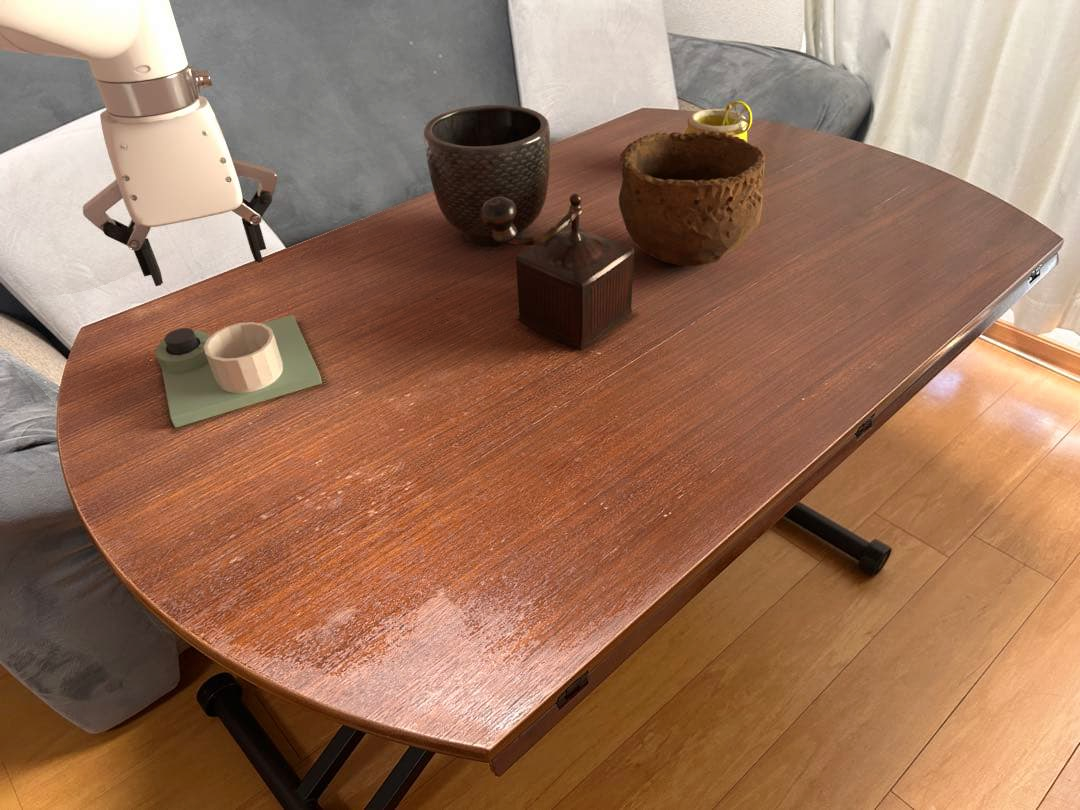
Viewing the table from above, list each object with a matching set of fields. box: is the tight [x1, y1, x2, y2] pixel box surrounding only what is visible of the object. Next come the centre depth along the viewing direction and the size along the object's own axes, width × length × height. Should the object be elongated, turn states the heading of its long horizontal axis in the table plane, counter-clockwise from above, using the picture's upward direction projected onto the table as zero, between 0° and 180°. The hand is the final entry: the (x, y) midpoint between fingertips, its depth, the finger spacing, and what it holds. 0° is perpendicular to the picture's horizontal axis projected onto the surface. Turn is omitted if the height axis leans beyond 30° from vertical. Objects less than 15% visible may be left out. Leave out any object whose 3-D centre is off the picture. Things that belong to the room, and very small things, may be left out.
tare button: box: [164, 327, 198, 355], centre depth 87 cm, size 3×3×2 cm
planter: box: [423, 104, 551, 247], centre depth 108 cm, size 17×17×16 cm
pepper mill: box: [480, 192, 635, 351], centre depth 88 cm, size 16×11×18 cm
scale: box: [154, 314, 323, 429], centre depth 87 cm, size 16×14×3 cm
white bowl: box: [204, 321, 283, 393], centre depth 84 cm, size 7×7×4 cm
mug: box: [684, 100, 753, 142], centre depth 125 cm, size 13×11×12 cm
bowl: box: [618, 131, 766, 267], centre depth 101 cm, size 19×19×15 cm
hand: (208, 268), depth 77 cm, fingers open, 9 cm apart
